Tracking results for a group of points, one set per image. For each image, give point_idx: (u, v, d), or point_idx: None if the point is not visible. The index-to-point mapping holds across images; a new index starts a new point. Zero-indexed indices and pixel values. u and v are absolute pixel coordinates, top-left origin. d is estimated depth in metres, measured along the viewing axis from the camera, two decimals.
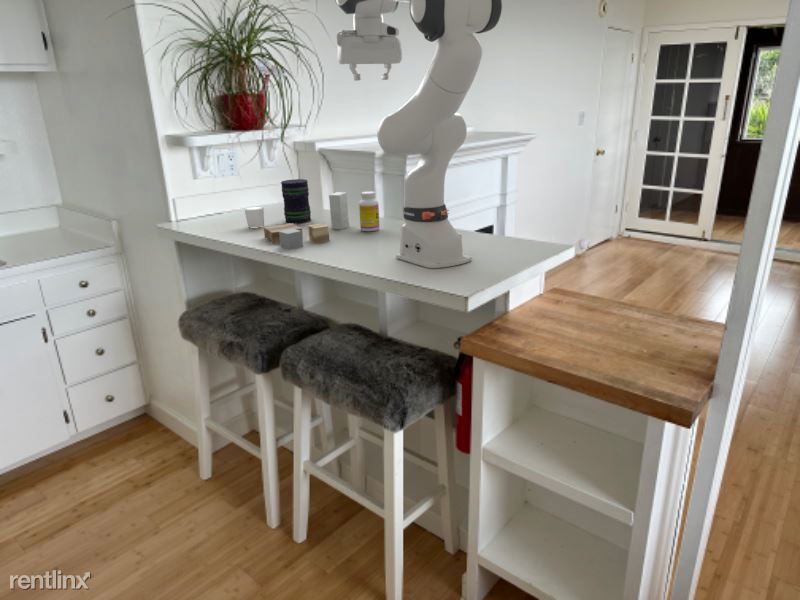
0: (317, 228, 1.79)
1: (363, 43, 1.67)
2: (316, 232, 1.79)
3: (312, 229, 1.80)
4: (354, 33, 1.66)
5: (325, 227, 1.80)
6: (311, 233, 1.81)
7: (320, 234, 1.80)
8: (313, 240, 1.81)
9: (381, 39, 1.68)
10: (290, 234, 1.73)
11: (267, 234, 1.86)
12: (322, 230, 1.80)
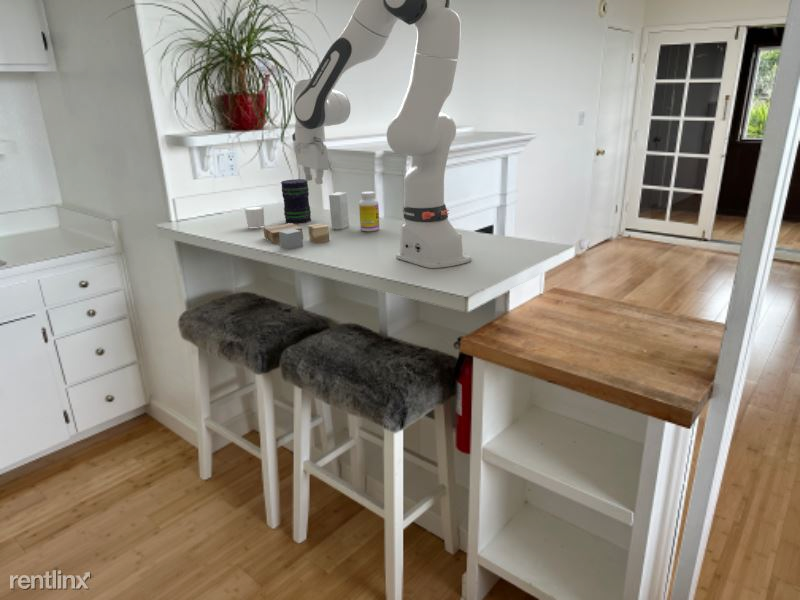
0: (317, 228, 1.79)
1: None
2: (316, 232, 1.79)
3: (312, 229, 1.80)
4: None
5: (325, 227, 1.80)
6: (311, 233, 1.81)
7: (320, 234, 1.80)
8: (313, 240, 1.81)
9: None
10: (290, 234, 1.73)
11: (267, 234, 1.86)
12: (322, 230, 1.80)
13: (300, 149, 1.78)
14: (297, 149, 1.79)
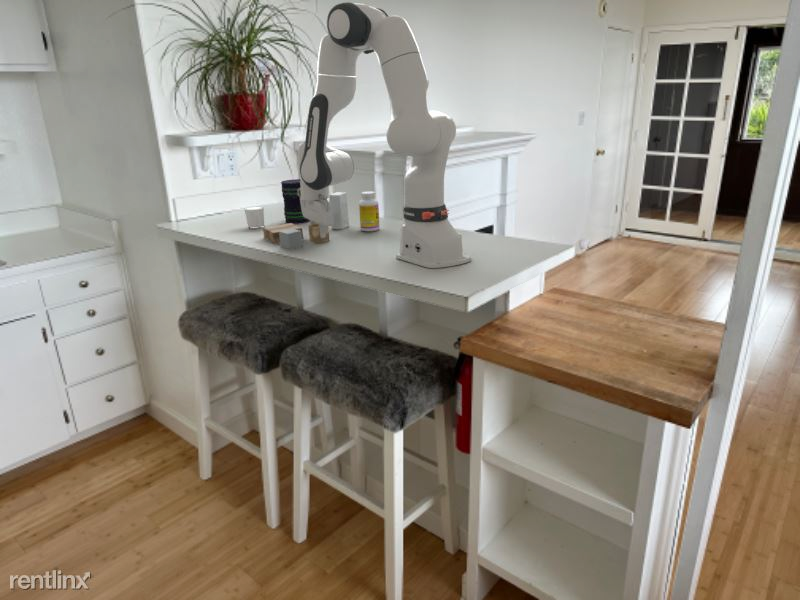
0: (317, 228, 1.79)
1: None
2: (316, 232, 1.79)
3: (312, 229, 1.80)
4: None
5: None
6: (311, 233, 1.81)
7: None
8: (313, 240, 1.81)
9: None
10: (290, 234, 1.73)
11: (267, 234, 1.85)
12: None
13: (305, 203, 1.84)
14: (302, 203, 1.85)
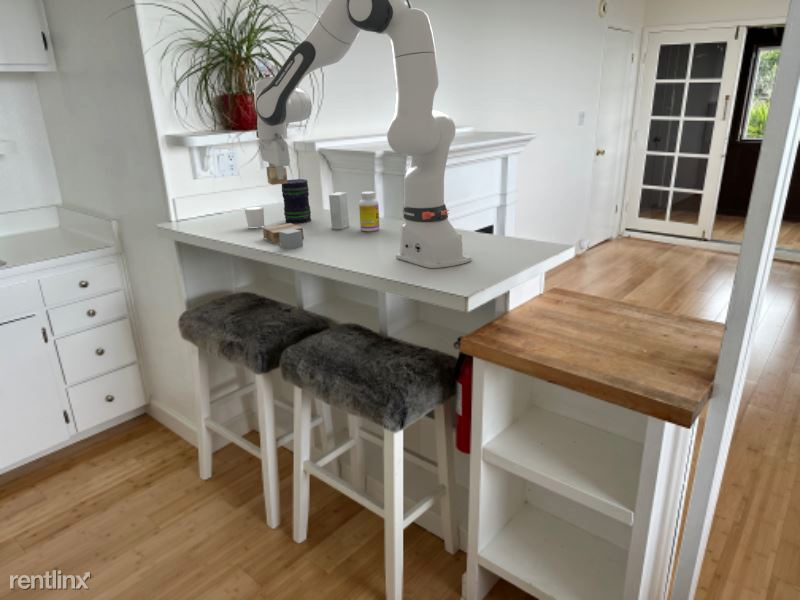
0: (274, 169, 1.77)
1: None
2: (273, 173, 1.78)
3: (269, 170, 1.78)
4: None
5: None
6: (269, 174, 1.80)
7: None
8: (270, 181, 1.79)
9: None
10: (290, 234, 1.73)
11: (267, 234, 1.85)
12: None
13: (264, 146, 1.82)
14: (261, 145, 1.83)
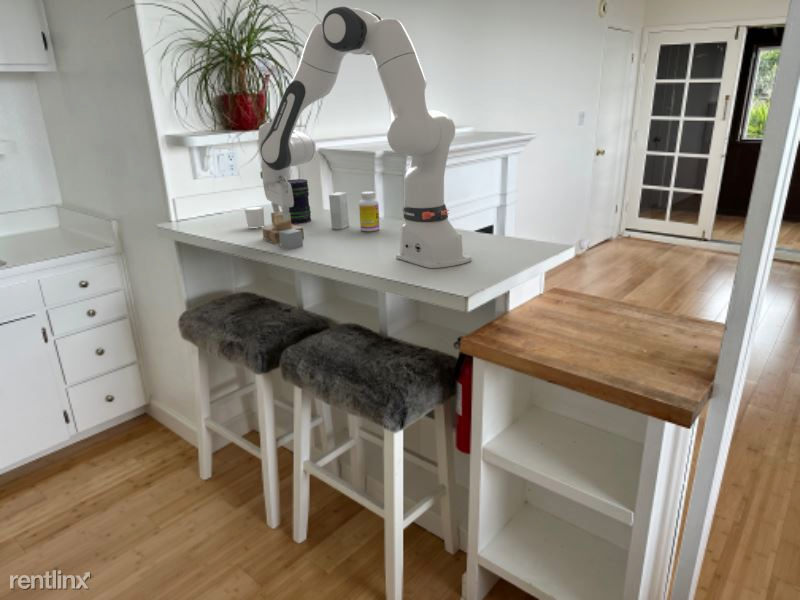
0: (279, 215, 1.82)
1: None
2: (278, 219, 1.82)
3: (274, 216, 1.83)
4: None
5: None
6: (273, 220, 1.84)
7: (282, 221, 1.83)
8: (275, 227, 1.84)
9: None
10: (290, 234, 1.73)
11: (267, 235, 1.85)
12: None
13: (268, 186, 1.86)
14: (265, 185, 1.88)
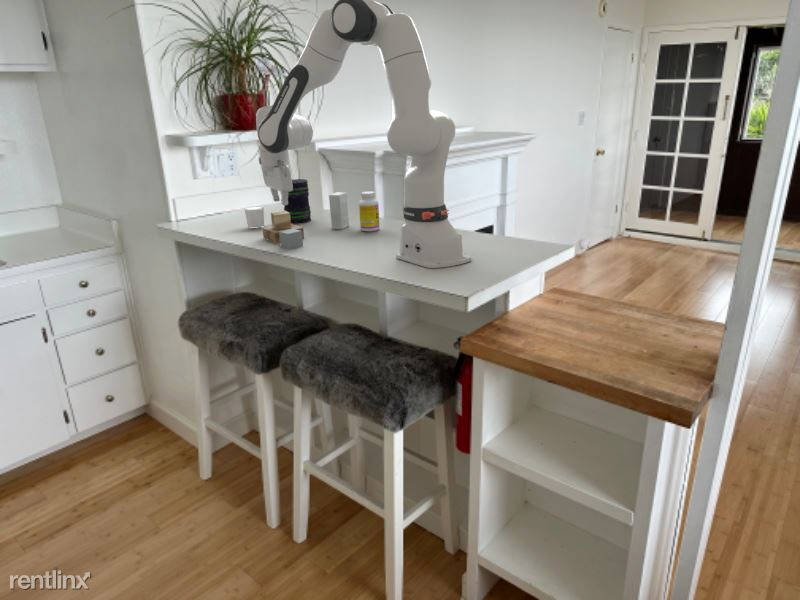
0: (278, 215, 1.82)
1: None
2: (277, 219, 1.83)
3: (274, 216, 1.83)
4: None
5: (286, 214, 1.83)
6: (273, 220, 1.85)
7: (281, 221, 1.83)
8: (275, 227, 1.84)
9: None
10: (290, 234, 1.73)
11: (268, 235, 1.85)
12: (283, 217, 1.83)
13: (267, 172, 1.85)
14: (264, 171, 1.86)
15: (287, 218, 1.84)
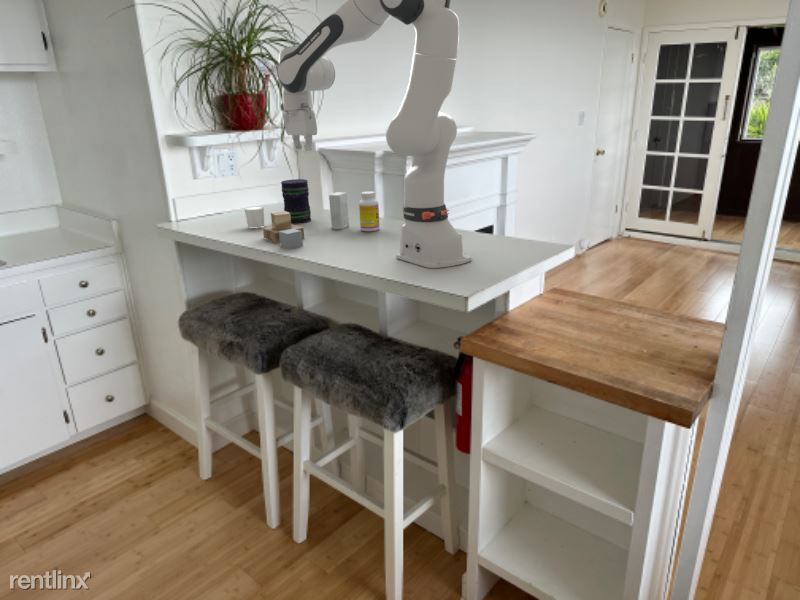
0: (279, 215, 1.82)
1: None
2: (278, 219, 1.83)
3: (274, 216, 1.83)
4: None
5: (287, 214, 1.84)
6: (273, 220, 1.85)
7: (282, 221, 1.84)
8: (275, 227, 1.84)
9: None
10: (290, 234, 1.73)
11: (268, 235, 1.85)
12: (284, 217, 1.83)
13: (289, 119, 1.80)
14: (286, 119, 1.81)
15: (287, 218, 1.84)
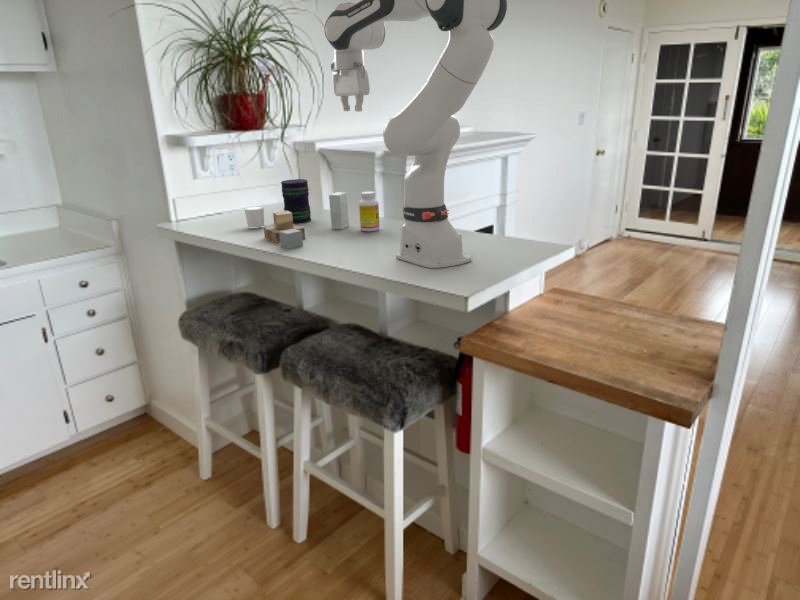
0: (280, 215, 1.83)
1: None
2: (280, 219, 1.83)
3: (276, 216, 1.83)
4: None
5: (289, 214, 1.84)
6: (275, 220, 1.85)
7: (284, 221, 1.84)
8: (277, 227, 1.84)
9: None
10: (290, 234, 1.73)
11: (269, 235, 1.85)
12: (285, 217, 1.84)
13: (338, 79, 1.78)
14: (335, 79, 1.79)
15: (289, 218, 1.84)
